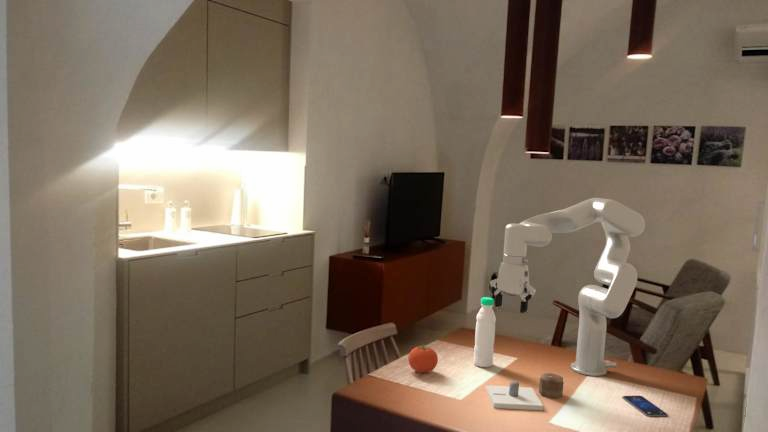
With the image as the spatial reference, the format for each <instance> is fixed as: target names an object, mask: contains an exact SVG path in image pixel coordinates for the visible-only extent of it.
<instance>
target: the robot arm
mask: <svg viewBox="0 0 768 432" xmlns="http://www.w3.org/2000/svg"><path fill="white" fill-rule="evenodd" d="M645 221H646V220H645V218H644V217H643V216H642V215H641V214H640V213H639V212H637V211H635V210H633V209H632V208H630V207H628V206H626V205H624V204H623V203H621V202H619V201H616V200H614V199H612V198H611V199H610V198H601V197H591V198H588V199H586V200H583V201H580V202H578V203H576V204H574V205H571V206H568V207H566V208H564V209H559V210H554V211H551V212H546V213H541V214H537V215H535V216H532V217H529V218H527V219H524V220H523V221H520V223H508V224H507V225H506V226H505V227H504V228H505V229H504V240H503V241H504V242H503V256H502V262H500V266H499V269H498V270H499V271H498V274H497V275H498V276H497V278H495V279H493V280H492V279H491V280H489V284H490V287H491V290H492V292H493V294H494V296H495V298H494V304H495V307H496V308H499V307H502V306H503V293H509V294H512V295H517V296H519V297H520V298H521V300H522V301H520V308H519V312H520V314H524V313H527V310H528V306H529V301H530V300H531V299H533V298H534V296H535V294H536V292H537V289H536V288H535V287H533V286H532V285H531V284H530V273H529V266H528V265H527V264H529V263H530V259H529V258H527V247H528V246H531V247H537V248H539V247H540V248H541V247H545V246H547V245H549V244H550V243H551V241H552V239H553V234H558V233H560V234H562V233H563V234H564V233H566V234H567V233H573V232H576V231H579V230H581V229H583V228H585V227H588V226H590V225H593V224H595V223H601V227H602V228H603V231H604V234H605V239H606V241H605V242H606V243H605V246H604V249H603V251H602V253H601V255H600V257H599V259H598V262H597V263H596V265H595V268H594V271H593V276H594V279H595V280H596V281H597V282H598V283H600V284H603V285H606V286H609V288H606V287H603V286H599V285H596V284H587V285H585V286H583V287H582V288H581V289H580V290H579V293H578V298H577V299H578V302H577V303H578V309H579V315H578V318H579V320H578V332H577V342H576V353H575V361H573V362H571V364H570V368H571V369H572V371H574V372H576V373H579V374H581V375H584V376H585V375H586V376H592V377H601V376H605V375H607V373H608V370H607V369H608V368H613V369H616V368H617V366H618V365H617V362H614V361H613V362H612V361H611V360H605V359H604V358H605V357H604V356H605V346H606V335H607V318H609V319H617V318H619V317H621V316H622V314H623V313H624V311H625V310H626V307H627V305H628V304H629V302H630V299H631V296H632V295H633V292H634V290H635V288H636V286H637V283H638V271H637V269H636V268H635V267H634V266H633V264H631V263H628V262H627V260H628V258H629V255H630V251H631V243H630V240H629V237H638V236H640V235H641V234H642V233H643V232H644V230H645V228H646V222H645ZM496 284H497V285H496ZM528 293H529V294H528Z"/></svg>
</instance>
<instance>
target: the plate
mask: <svg viewBox="0 0 768 432" xmlns="http://www.w3.org/2000/svg"><path fill="white" fill-rule="evenodd" d="M485 391H487V392H486V394H487V396H488V399H489V401H490V403H491V405H492V407H493V409H507V410H508V409H510V410H528V411H529V410H531V411H532V410H533V411H543V410H544V405H543V403H542V401H541V399H540V398H539V396H538V394H536V392H535V390H534V389H533V387H525V386H524V387H521V386H520V383H519V382H518V381H515V380H512V381H510V382H509V386H507V385H506V386H504V385H485Z"/></svg>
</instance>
